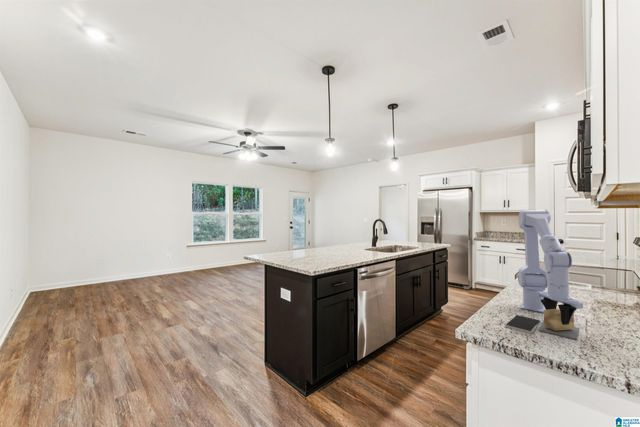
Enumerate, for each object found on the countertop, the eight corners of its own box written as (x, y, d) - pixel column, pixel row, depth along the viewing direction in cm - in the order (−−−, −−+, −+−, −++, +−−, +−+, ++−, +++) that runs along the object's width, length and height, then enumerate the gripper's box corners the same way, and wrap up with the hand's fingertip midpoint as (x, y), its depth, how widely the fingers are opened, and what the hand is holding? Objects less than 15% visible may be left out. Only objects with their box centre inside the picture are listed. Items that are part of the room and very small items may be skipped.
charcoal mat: (543, 321, 104) (543, 320, 104) (578, 328, 97) (578, 327, 97) (538, 331, 96) (538, 329, 96) (577, 340, 88) (577, 338, 88)
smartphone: (541, 320, 104) (532, 331, 94) (541, 323, 104) (532, 334, 94) (516, 314, 110) (505, 324, 100) (516, 317, 110) (505, 327, 100)
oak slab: (544, 326, 98) (543, 309, 98) (562, 324, 99) (561, 308, 99) (555, 330, 94) (554, 313, 94) (574, 328, 95) (573, 312, 95)
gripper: (590, 289, 90) (591, 329, 90) (547, 279, 104) (547, 313, 104) (572, 290, 89) (573, 331, 89) (531, 280, 103) (532, 314, 103)
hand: (558, 321), depth 96 cm, fingers closed on oak slab, 4 cm apart
